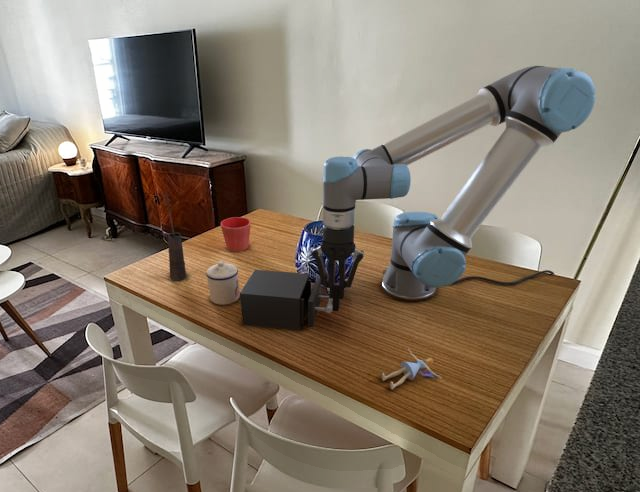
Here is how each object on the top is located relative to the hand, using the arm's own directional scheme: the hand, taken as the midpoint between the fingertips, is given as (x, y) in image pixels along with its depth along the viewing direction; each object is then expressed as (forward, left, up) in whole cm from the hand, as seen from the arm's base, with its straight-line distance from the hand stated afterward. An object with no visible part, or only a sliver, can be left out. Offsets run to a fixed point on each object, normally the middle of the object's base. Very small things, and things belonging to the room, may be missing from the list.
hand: (336, 308), depth 119 cm
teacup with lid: (+34, -7, -4) cm, 35 cm away
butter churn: (+52, -15, -4) cm, 55 cm away
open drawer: (+10, 0, -3) cm, 11 cm away
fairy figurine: (-19, +20, -4) cm, 28 cm away
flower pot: (+41, -41, -4) cm, 58 cm away
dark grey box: (+16, 0, -4) cm, 17 cm away
